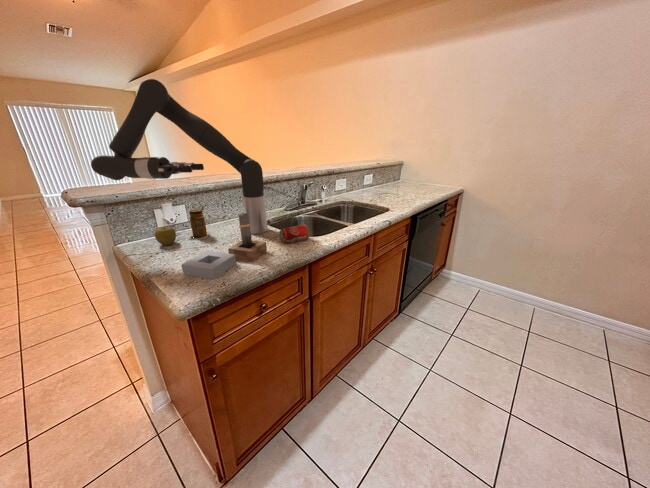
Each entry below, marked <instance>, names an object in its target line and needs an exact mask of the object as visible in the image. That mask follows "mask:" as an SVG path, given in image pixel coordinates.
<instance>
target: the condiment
mask: <svg viewBox="0 0 650 488" xmlns="http://www.w3.org/2000/svg"><path fill="white" fill-rule="evenodd" d="M189 222H190V227H191V231H192V235H193V236H192V235H191V236H190V238H189V240H192V241H193V240H203V239H207V238H208V236H209V234H210V232H207V225H206V220H205V216H204V215H203V210H202V209H196V208H195V209H192V210H191V209H190V210H189ZM193 237H194V238H193Z"/></svg>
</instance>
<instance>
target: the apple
mask: <svg viewBox="0 0 650 488" xmlns="http://www.w3.org/2000/svg"><path fill="white" fill-rule="evenodd" d="M154 237H155V239H156V241H157V242H158V243H160V244H161V245H164V246H171V245H173V244H174V243H175V241H176V238H177V234H176V230H175V229H174V228H173V227H171V226H162V227H159V228H156V229H155V231H154Z"/></svg>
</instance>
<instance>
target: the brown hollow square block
mask: <svg viewBox="0 0 650 488" xmlns="http://www.w3.org/2000/svg"><path fill="white" fill-rule="evenodd" d="M252 246H253V247H251V248H250V249H249V248H243V246H242V240H240V241H238V242H236V243H235V244H233V245H232V246H230V247H228V248H227V250H228V254H235V258H236V261H237V260H239V261H246V262H255V261H257V260H258V259H259V258H260V257H261V256H263V255H264V254H265V253H266V252H268V250H267V242H266V241H262V240H261V241H260V240H253V239H252Z"/></svg>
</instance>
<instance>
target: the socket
mask: <svg viewBox="0 0 650 488" xmlns="http://www.w3.org/2000/svg"><path fill="white" fill-rule="evenodd" d="M235 265H237V259H236V258H235V254H229V253H226V252H220V251H213V250H206V251H204V252H202V253H199V254H198V255H197V256H195V257H192V258H191V259H189V260H187V261H186V262H183V263H181V269H182V273H183V275H188V276H191V277H192V276H193V277H199V278H204V279H209V280H210V279H211V280H214V279H216V278H217V277H219V276H220V275H222V274H223V273H224V272H226V271H227V270H229V269H230V268H233V266H235Z"/></svg>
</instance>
